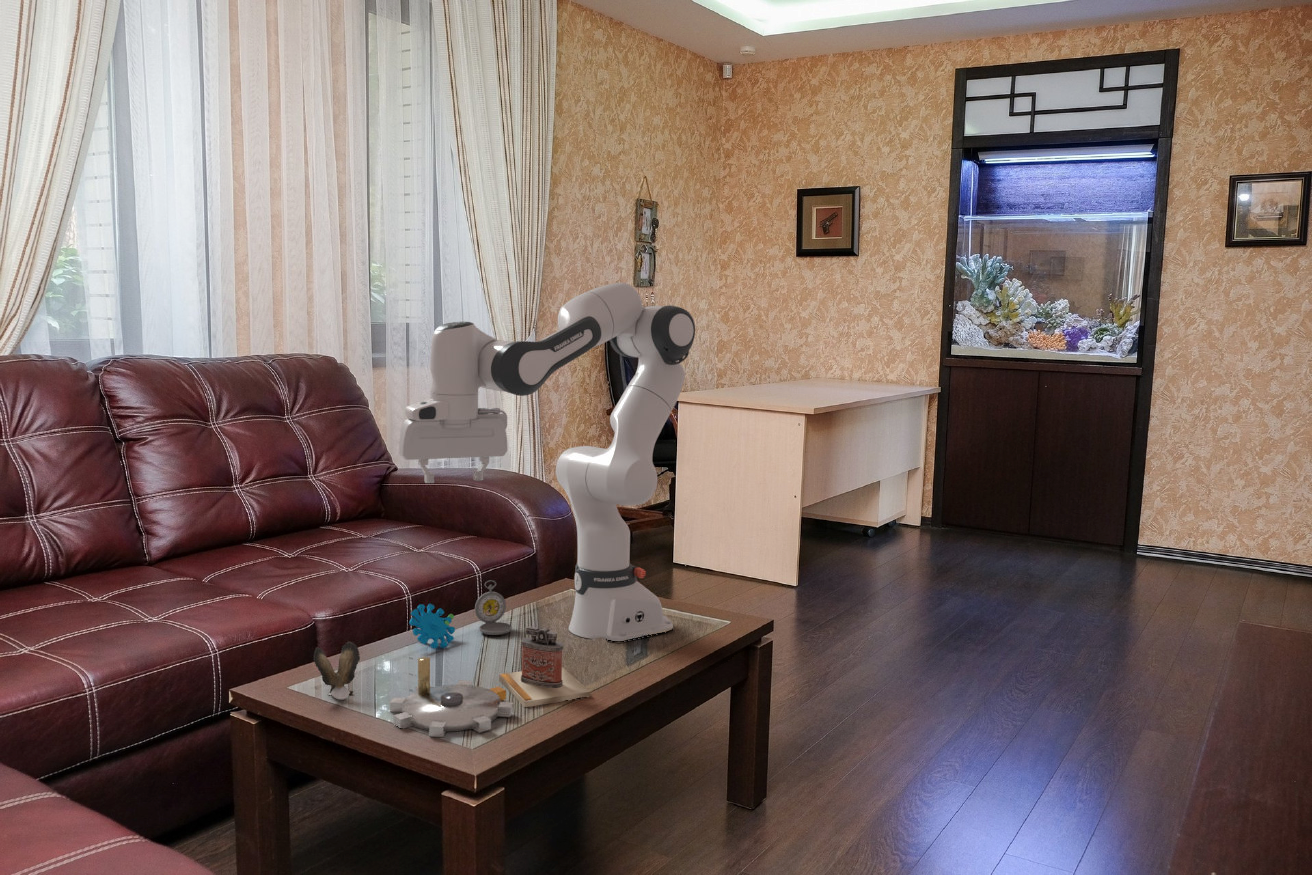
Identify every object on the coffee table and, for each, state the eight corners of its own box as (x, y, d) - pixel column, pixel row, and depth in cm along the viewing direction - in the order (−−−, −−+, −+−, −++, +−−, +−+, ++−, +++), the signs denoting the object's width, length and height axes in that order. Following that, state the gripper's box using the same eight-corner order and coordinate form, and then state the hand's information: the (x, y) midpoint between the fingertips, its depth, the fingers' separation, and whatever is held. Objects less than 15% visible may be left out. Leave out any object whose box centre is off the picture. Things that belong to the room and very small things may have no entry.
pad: (560, 670, 189) (560, 664, 189) (590, 696, 177) (590, 690, 177) (499, 679, 184) (499, 673, 184) (524, 707, 172) (524, 700, 172)
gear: (429, 651, 195) (404, 608, 198) (413, 666, 198) (388, 624, 201) (469, 636, 205) (444, 595, 207) (453, 651, 207) (428, 611, 210)
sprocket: (451, 680, 182) (452, 639, 181) (537, 707, 171) (537, 663, 170) (363, 715, 165) (363, 670, 164) (451, 747, 154) (451, 699, 153)
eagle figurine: (344, 686, 179) (343, 637, 178) (369, 696, 174) (369, 646, 173) (306, 699, 173) (305, 648, 172) (331, 709, 168) (330, 657, 167)
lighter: (566, 683, 180) (567, 629, 179) (556, 689, 177) (557, 634, 176) (526, 676, 183) (527, 622, 182) (517, 682, 180) (517, 627, 179)
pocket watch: (498, 638, 207) (498, 590, 206) (466, 631, 211) (466, 584, 210) (522, 628, 214) (523, 582, 213) (490, 621, 218) (491, 576, 217)
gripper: (502, 406, 198) (501, 476, 200) (396, 407, 189) (396, 481, 190) (512, 409, 192) (511, 481, 194) (404, 411, 183) (404, 486, 185)
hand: (454, 481), depth 192 cm, fingers open, 8 cm apart
